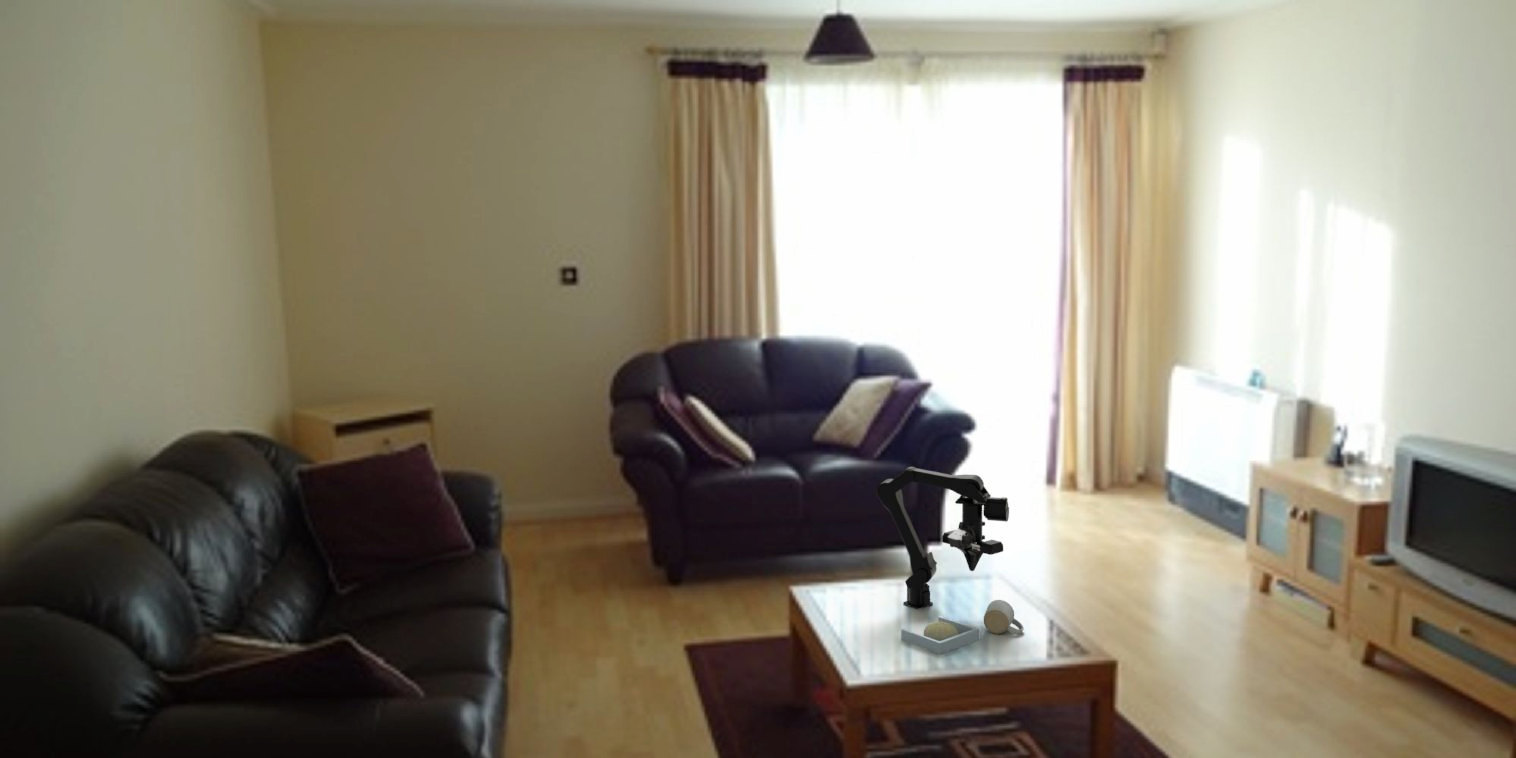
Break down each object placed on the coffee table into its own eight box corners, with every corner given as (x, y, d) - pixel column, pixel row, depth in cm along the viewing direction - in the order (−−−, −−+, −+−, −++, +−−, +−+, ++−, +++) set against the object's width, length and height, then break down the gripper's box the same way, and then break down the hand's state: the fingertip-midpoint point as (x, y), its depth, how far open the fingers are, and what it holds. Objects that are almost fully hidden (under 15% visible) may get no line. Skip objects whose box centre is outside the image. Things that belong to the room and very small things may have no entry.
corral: (901, 639, 290) (901, 629, 290) (940, 626, 300) (940, 615, 300) (939, 654, 279) (939, 643, 279) (979, 639, 289) (979, 629, 289)
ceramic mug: (982, 633, 294) (982, 607, 293) (986, 623, 301) (987, 597, 300) (1021, 638, 290) (1022, 611, 289) (1025, 628, 297) (1025, 602, 297)
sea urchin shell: (953, 642, 282) (933, 618, 285) (934, 659, 286) (914, 635, 288) (966, 632, 290) (946, 608, 292) (946, 648, 294) (927, 625, 296)
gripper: (929, 517, 312) (929, 569, 314) (979, 529, 297) (979, 583, 299) (954, 511, 319) (954, 561, 321) (1004, 522, 304) (1004, 575, 306)
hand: (972, 570), depth 311 cm, fingers closed
